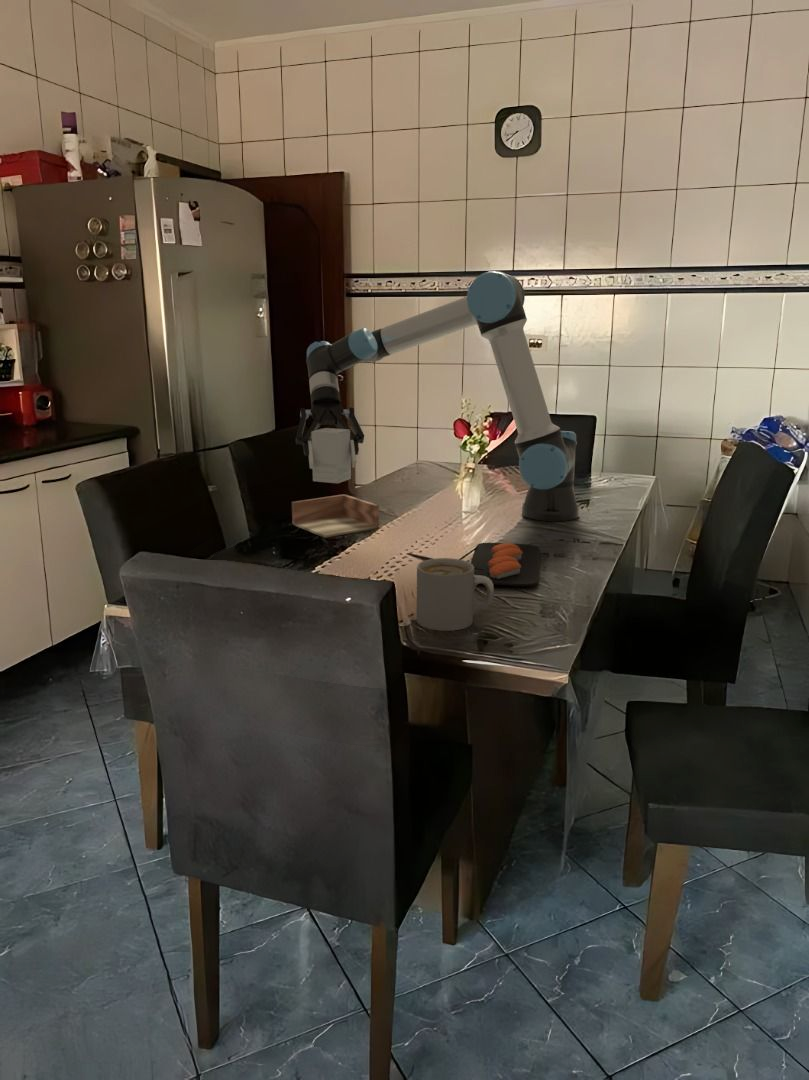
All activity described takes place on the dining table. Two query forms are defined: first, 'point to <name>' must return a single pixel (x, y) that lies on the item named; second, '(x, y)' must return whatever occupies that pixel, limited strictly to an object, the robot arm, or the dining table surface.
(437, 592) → the coffee mug
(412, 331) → the robot arm
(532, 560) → the sushi plate
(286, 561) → the dining table surface
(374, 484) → the dining table surface
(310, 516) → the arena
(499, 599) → the dining table surface
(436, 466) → the dining table surface
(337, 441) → the supplement box
